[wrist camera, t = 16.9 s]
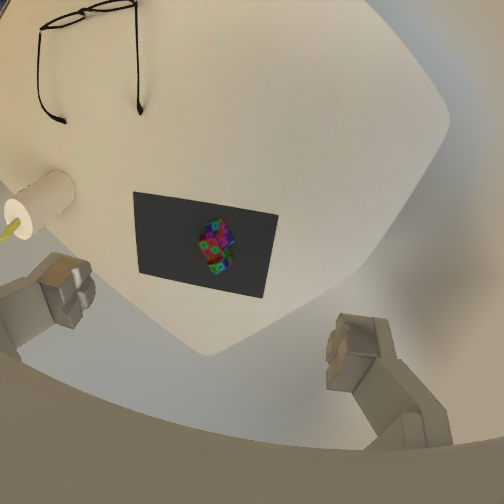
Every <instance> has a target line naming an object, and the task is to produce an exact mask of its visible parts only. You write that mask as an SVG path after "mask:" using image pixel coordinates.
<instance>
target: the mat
mask: <svg viewBox="0 0 504 504" xmlns="http://www.w3.org/2000/svg"><path fill="white" fill-rule="evenodd" d="M133 197H134V216H135V231H136V243H137V254H138V264H139V273H143V274H147V275H152V276H156V277H160V278H165V279H169V280H174V281H179V282H183V283H188V284H193V285H197V286H202V287H207V288H212V289H217V290H222V291H227V292H232V293H237V294H242V295H247V296H252V297H257V298H263V293H264V288H265V283H266V278H267V273H268V268H269V262H270V257H271V252H272V247H273V242H274V237H275V231H276V226H277V221H278V215H273V214H267V213H262V212H256V211H251V210H245V209H239V208H233V207H228V206H222V205H216V204H210V203H204V202H197V201H191V200H185V199H178V198H172V197H165V196H159V195H152V194H145V193H138V192H133ZM220 218H223V219H224V221H225V223H226V225H227V227H228V229H229V231H230V232H231V234H232V236H233V238H234V240H235V241H234V243H232V244H231V245H229V246H228V248H229V250H230V252H231V254H232V255H233V259H232V262H231V265H230V267H229V268H228V269H227V270H226V271H224V272H222V273H220V274H213V273H212V271H211V269H210V267H209V266H208V264H207V260H206V258H205V256H204V254H203V253H202V251H201V249H200V247H199V245H198V244H197V241H198V239H199V238H200V236H201V235H202V234H205V233H206V231H205V224H206V223H209V222H211V221H214V220H217V219H220Z"/></svg>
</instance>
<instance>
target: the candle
mask: <svg viewBox="0 0 504 504" xmlns="http://www.w3.org/2000/svg"><path fill="white" fill-rule="evenodd" d="M74 199H75V187H74V184H73V182H72V180H71V178H70V177H69V176H68V175H67V174H66V173H64V172H63V171H60V170H56V171H53V172H51V173H50V174H48V175H46V176H45V177H43V178H41V179H40V180H38V181H36V182H35V183H33V184H32V185H29V186H28V187H27V188H25V189H23V190H21V191H20V192H19V193H18V194H16V195H15V196H13V197H12V198H10V199H9V200H8V201H7V202H6V203H5V206H4V215H5V219H6V222H7V224H8V226H7V228H6V229H5V230H4V232H3V233H2V235H1V238H0V241H4V240H5V239H6V238H7V237H9V236H10V235H11V234H12V233H14V234H15V235H16V236H17V237H18V238H20V239H23V240H27V239H29V238H30V237H31V236H33V235H34V234H35V233H36V232H37V231H39V230H40V229H41V228H42V227H43V226H45V225H46V224H47V223H48V222H49V221H51V220H52V219H53V218H54V217H56V216H57V215H58V214H59V213H61V212H62V211H63V210H64V209H66V208H67V207H68V206H70V205H71V204H72V203H73V201H74Z"/></svg>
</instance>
